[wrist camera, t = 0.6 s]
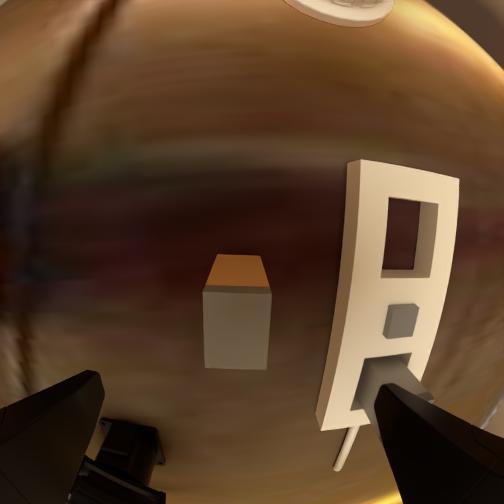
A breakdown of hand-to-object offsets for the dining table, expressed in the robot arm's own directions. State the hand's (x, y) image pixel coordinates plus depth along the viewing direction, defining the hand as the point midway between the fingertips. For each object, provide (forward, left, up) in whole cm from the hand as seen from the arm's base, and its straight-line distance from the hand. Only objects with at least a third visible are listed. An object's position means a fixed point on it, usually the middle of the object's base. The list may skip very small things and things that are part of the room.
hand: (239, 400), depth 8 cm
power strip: (-8, -12, -13) cm, 19 cm away
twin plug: (-8, -12, -13) cm, 20 cm away
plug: (0, 0, -13) cm, 13 cm away
